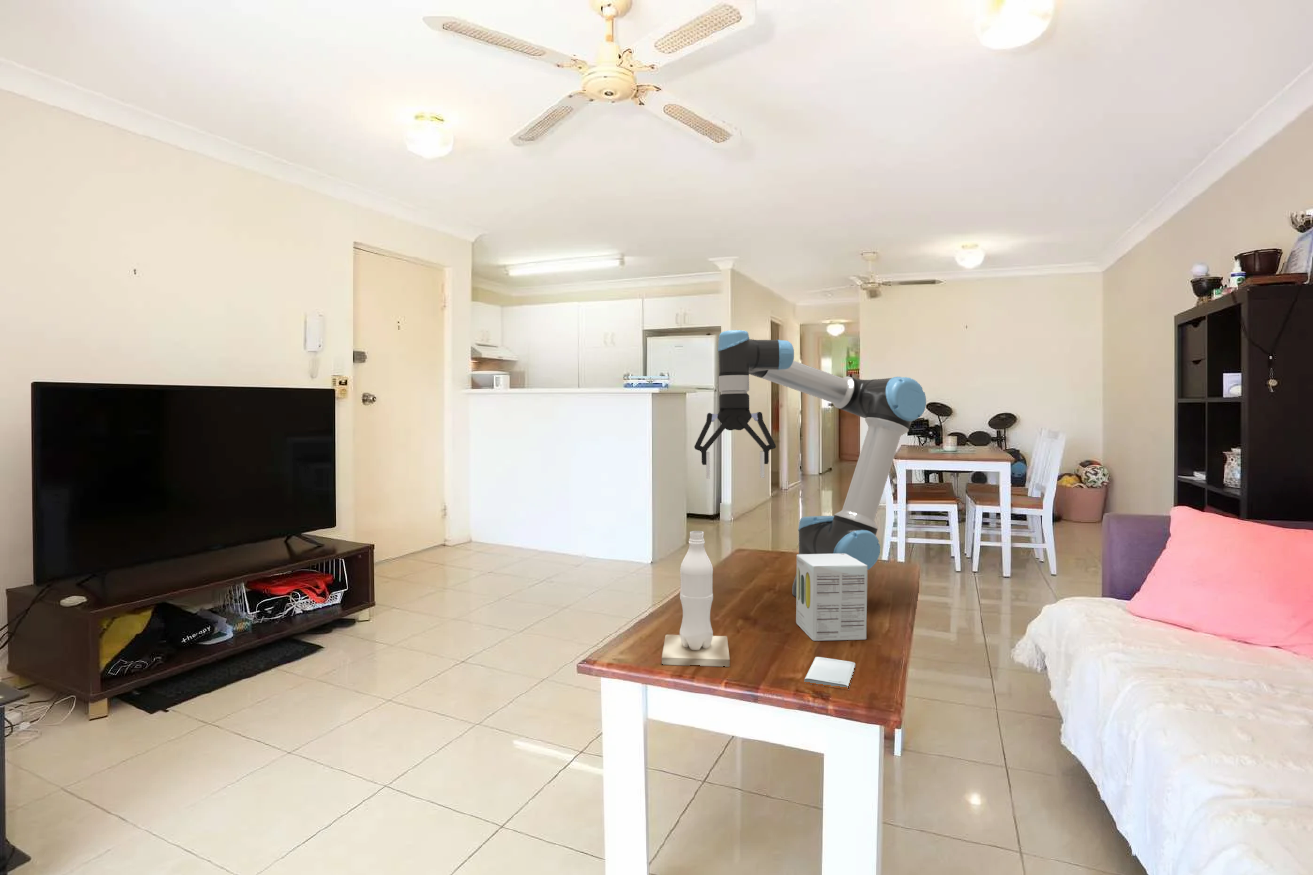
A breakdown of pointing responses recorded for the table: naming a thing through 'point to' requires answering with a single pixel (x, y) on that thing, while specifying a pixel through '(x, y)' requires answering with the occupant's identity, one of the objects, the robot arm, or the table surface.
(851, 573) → the supplement box
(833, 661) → the white spiral notebook
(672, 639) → the flat beige metallic box
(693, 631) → the water bottle
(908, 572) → the table surface
